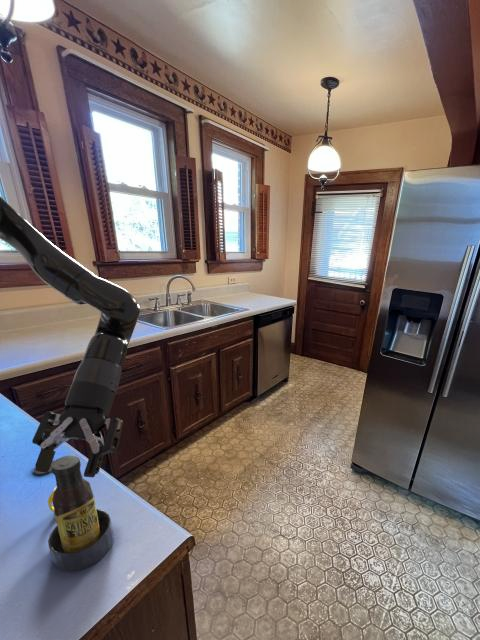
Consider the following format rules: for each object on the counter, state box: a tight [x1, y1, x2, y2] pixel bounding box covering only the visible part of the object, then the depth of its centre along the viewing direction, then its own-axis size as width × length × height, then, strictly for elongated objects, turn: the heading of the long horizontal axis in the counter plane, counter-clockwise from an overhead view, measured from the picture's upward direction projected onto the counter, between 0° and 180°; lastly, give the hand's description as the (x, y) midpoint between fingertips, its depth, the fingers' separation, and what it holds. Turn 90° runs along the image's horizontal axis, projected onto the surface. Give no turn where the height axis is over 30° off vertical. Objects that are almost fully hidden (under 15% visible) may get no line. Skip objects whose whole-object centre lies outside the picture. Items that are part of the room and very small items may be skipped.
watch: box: [47, 485, 57, 513], centre depth 68 cm, size 6×3×6 cm, turn 138°
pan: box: [47, 508, 115, 573], centre depth 60 cm, size 10×10×4 cm
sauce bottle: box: [51, 454, 101, 553], centre depth 57 cm, size 6×6×20 cm
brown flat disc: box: [33, 460, 55, 476], centre depth 80 cm, size 5×5×1 cm
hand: (65, 474), depth 53 cm, fingers open, 8 cm apart
